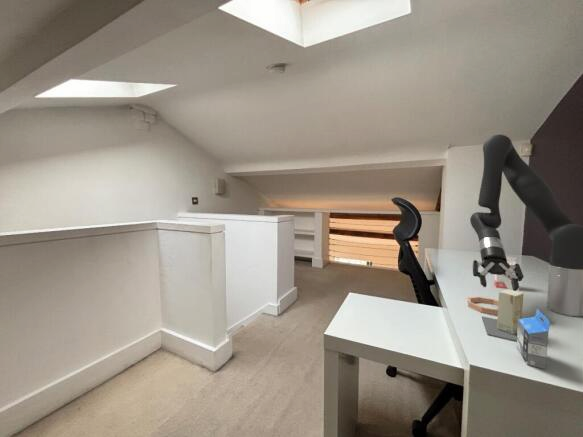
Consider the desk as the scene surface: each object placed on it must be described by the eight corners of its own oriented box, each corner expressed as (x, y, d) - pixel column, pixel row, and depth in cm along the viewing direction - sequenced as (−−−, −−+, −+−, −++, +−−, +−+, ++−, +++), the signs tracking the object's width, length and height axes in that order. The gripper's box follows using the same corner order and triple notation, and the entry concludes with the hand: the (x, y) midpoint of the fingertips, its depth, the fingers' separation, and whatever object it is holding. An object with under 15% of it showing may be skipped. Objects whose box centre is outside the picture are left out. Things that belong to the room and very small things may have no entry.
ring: (506, 306, 96) (506, 301, 96) (513, 318, 85) (514, 313, 85) (466, 299, 103) (466, 294, 103) (469, 310, 92) (469, 305, 92)
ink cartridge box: (495, 287, 117) (497, 257, 117) (494, 284, 122) (495, 255, 121) (519, 290, 113) (521, 259, 112) (516, 287, 117) (518, 257, 116)
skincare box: (513, 335, 74) (515, 296, 73) (496, 328, 77) (498, 291, 77) (522, 329, 77) (524, 292, 76) (505, 324, 81) (507, 288, 80)
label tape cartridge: (515, 347, 68) (517, 304, 68) (534, 351, 66) (536, 307, 66) (526, 365, 61) (528, 317, 60) (547, 370, 59) (550, 321, 58)
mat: (527, 326, 80) (527, 325, 80) (541, 347, 68) (541, 346, 68) (481, 317, 86) (481, 316, 86) (487, 335, 74) (487, 333, 74)
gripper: (471, 244, 97) (477, 280, 87) (518, 246, 90) (529, 285, 81) (468, 254, 102) (473, 289, 92) (512, 258, 95) (522, 296, 86)
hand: (499, 288), depth 87 cm, fingers open, 8 cm apart
